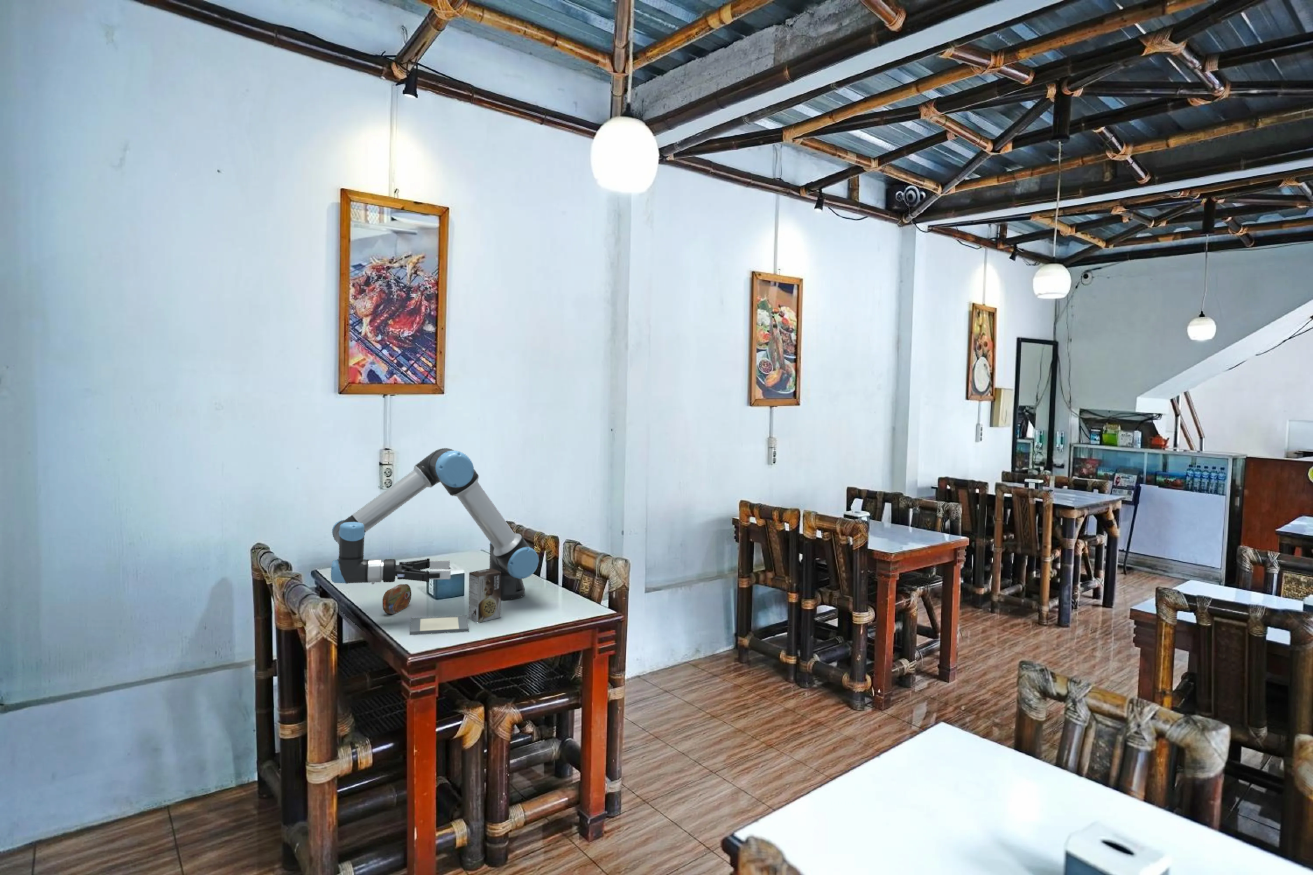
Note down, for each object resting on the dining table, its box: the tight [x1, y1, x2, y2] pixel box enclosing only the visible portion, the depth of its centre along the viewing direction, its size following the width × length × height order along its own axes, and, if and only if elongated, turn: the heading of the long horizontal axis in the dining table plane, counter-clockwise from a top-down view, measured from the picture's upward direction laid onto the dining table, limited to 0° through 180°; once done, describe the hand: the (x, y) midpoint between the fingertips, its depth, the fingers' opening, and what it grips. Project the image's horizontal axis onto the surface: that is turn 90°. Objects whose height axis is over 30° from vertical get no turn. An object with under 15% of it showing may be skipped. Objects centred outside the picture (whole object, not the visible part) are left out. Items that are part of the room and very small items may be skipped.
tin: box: [382, 583, 412, 615], centre depth 259 cm, size 15×3×8 cm, turn 168°
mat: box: [409, 614, 470, 636], centre depth 244 cm, size 18×14×1 cm
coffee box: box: [467, 567, 502, 624], centre depth 254 cm, size 9×6×16 cm
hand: (450, 569), depth 250 cm, fingers open, 13 cm apart
